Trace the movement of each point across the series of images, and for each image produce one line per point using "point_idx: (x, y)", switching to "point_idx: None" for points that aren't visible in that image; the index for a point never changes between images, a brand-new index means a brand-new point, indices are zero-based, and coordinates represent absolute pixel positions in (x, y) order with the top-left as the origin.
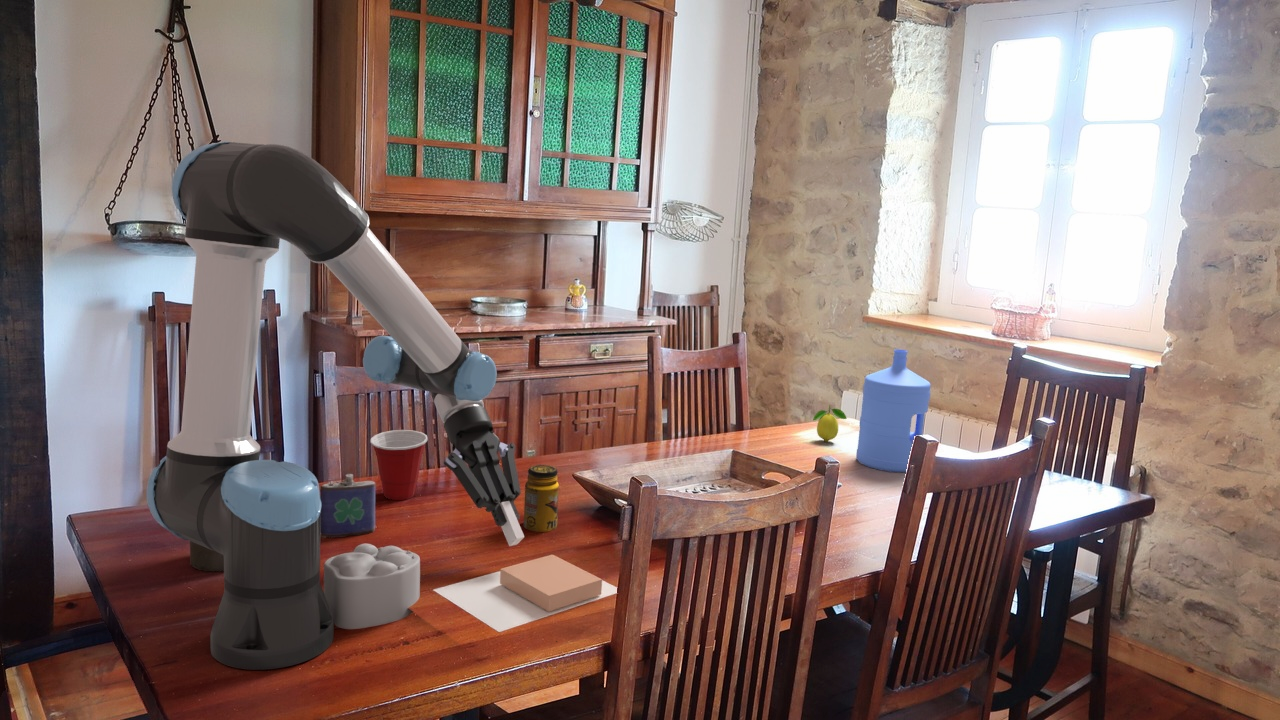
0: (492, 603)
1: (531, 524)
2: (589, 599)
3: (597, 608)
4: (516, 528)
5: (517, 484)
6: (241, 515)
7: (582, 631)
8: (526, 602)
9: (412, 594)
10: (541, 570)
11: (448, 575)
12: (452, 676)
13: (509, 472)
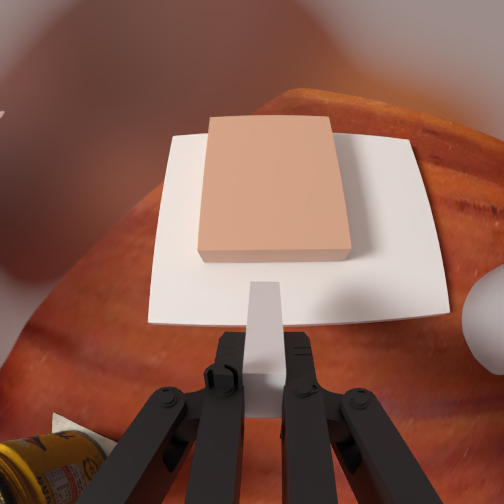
0: (387, 207)
1: (94, 466)
2: None
3: None
4: (265, 298)
5: (143, 425)
6: None
7: (296, 107)
8: None
9: (496, 270)
10: (278, 193)
11: (378, 395)
12: (461, 130)
13: (133, 501)
